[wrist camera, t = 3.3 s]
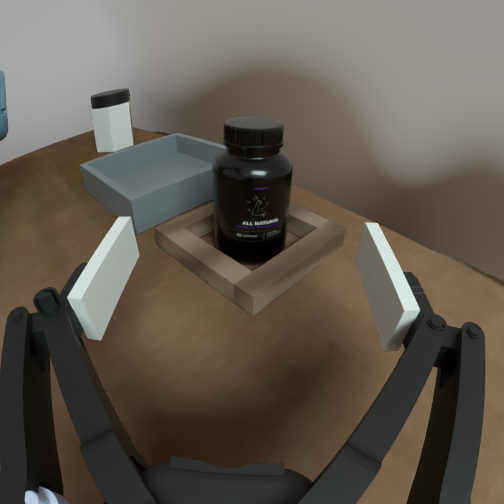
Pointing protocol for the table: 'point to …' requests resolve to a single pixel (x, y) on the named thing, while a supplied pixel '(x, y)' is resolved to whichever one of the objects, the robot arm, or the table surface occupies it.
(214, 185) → the supplement bottle
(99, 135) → the jar
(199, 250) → the socket collar
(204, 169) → the bin
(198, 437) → the table surface
